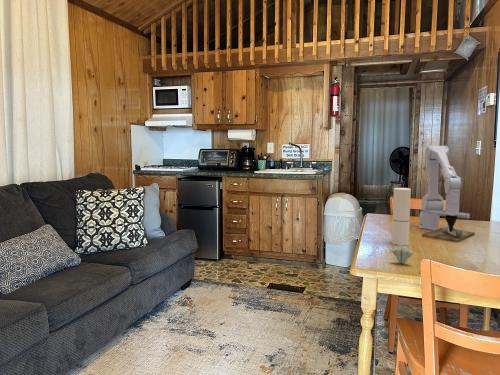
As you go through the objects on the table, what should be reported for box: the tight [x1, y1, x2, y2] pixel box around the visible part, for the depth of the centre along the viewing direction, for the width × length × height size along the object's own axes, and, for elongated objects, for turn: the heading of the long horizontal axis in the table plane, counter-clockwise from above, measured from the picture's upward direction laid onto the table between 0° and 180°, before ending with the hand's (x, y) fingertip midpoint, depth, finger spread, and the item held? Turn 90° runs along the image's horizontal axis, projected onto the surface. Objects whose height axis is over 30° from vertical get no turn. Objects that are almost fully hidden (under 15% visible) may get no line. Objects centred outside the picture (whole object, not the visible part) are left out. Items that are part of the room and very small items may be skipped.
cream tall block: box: [391, 187, 412, 246], centre depth 173 cm, size 7×7×25 cm
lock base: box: [421, 227, 476, 243], centre depth 188 cm, size 16×22×2 cm
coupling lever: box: [442, 223, 464, 237], centre depth 184 cm, size 14×4×3 cm, turn 178°
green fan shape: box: [390, 245, 414, 265], centre depth 144 cm, size 8×4×7 cm, turn 57°
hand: (450, 231), depth 181 cm, fingers closed
